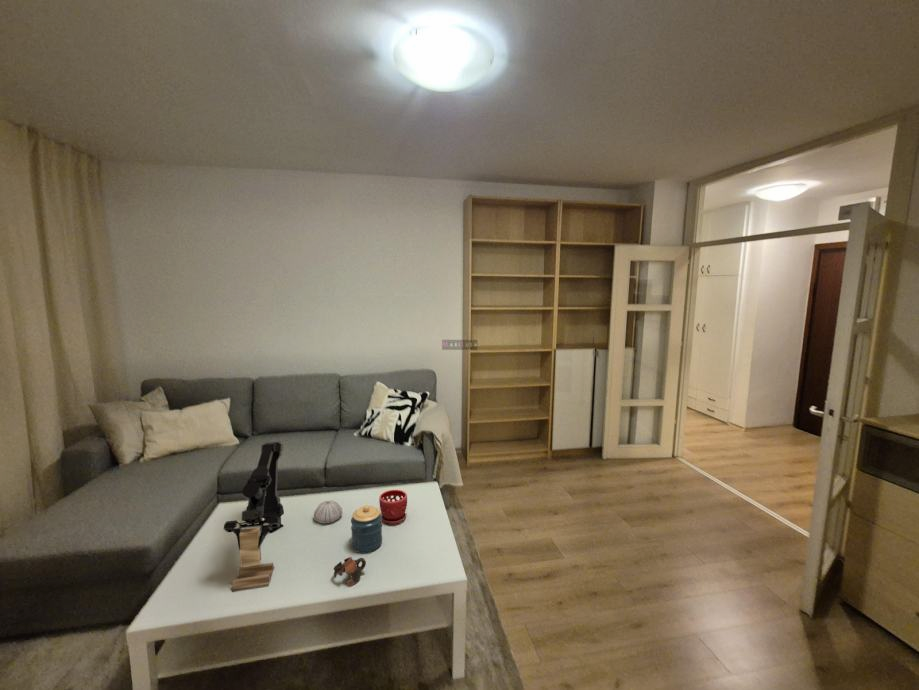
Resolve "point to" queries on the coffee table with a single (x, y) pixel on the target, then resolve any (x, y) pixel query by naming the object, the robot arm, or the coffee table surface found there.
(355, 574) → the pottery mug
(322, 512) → the sea urchin shell
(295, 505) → the coffee table surface
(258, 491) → the robot arm
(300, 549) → the coffee table surface
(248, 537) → the wooden block
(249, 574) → the mating board
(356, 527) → the canister
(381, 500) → the plant pot
